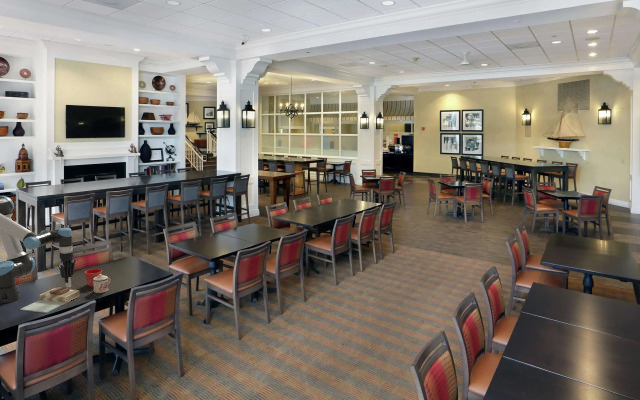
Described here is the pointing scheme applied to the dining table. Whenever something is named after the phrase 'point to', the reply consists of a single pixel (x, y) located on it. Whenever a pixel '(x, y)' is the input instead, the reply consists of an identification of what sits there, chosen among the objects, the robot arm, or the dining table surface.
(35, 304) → the sage mat
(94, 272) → the flower pot
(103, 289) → the teacup with lid
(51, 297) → the birch deck
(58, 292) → the walnut tile
